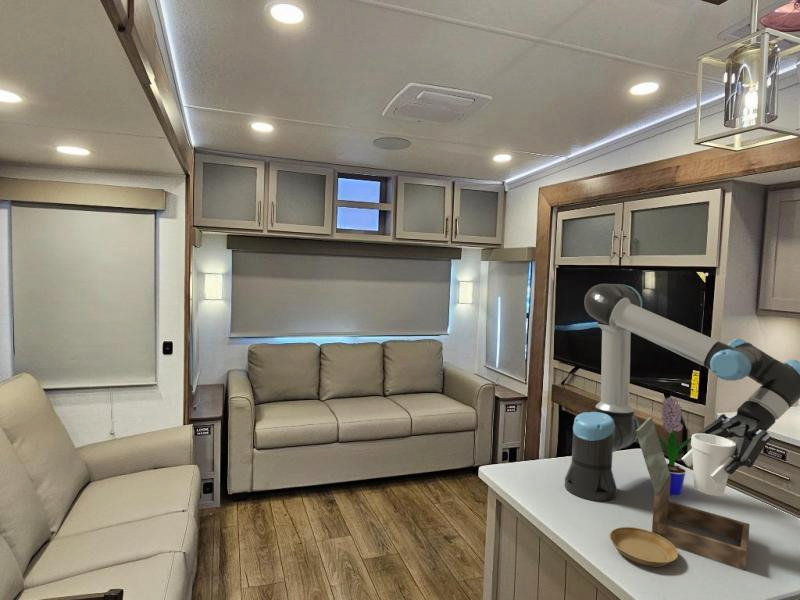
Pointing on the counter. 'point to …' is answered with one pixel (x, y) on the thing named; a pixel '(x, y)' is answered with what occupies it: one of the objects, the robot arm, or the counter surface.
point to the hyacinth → (673, 443)
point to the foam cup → (710, 461)
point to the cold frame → (688, 511)
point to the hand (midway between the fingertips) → (699, 471)
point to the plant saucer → (643, 546)
